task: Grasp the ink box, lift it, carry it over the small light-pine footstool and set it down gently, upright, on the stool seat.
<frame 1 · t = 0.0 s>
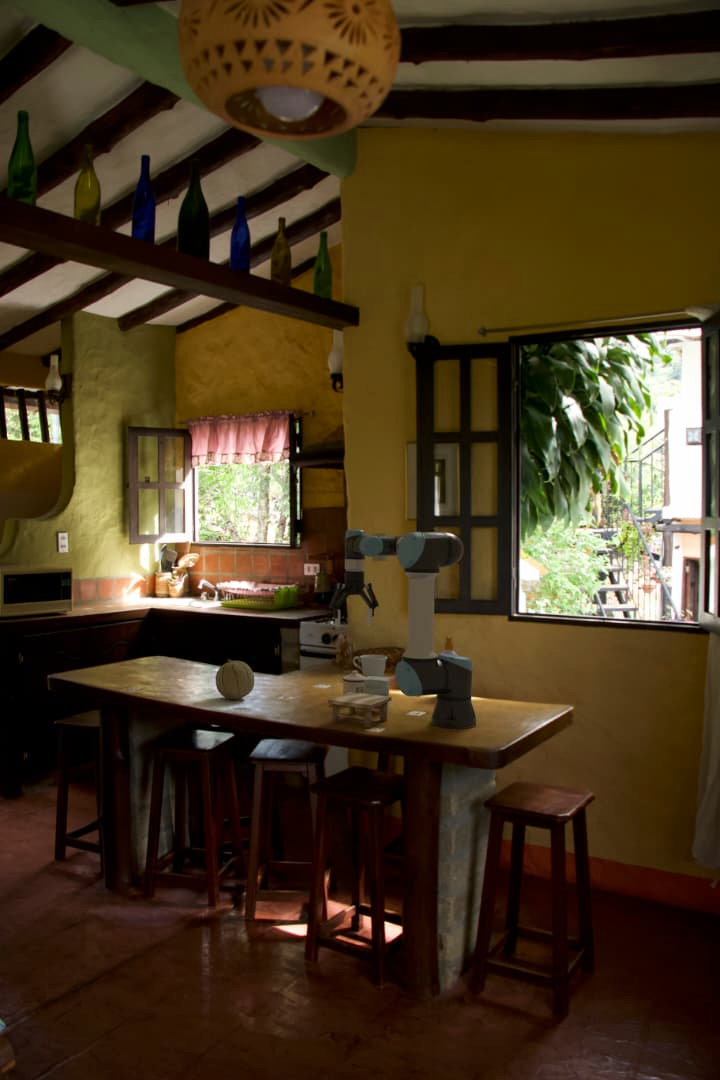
hand: (353, 626, 336), 28 cm above the table, fingers open, 13 cm apart
ink box: (376, 710, 319), on the table
soap bottle: (447, 697, 346), on the table
footstool: (359, 721, 300), on the table
teacup with lid: (356, 701, 334), on the table
teacup: (369, 680, 380), on the table
cantaloupe: (234, 699, 334), on the table
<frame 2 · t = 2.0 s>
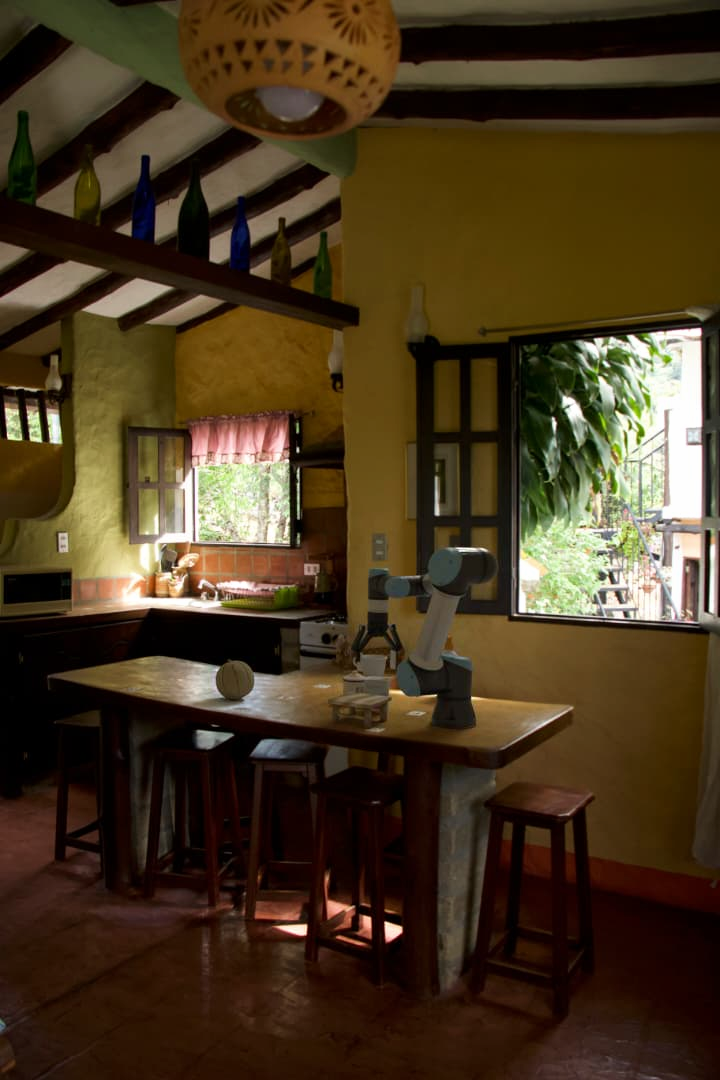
hand: (376, 669, 319), 15 cm above the table, fingers open, 13 cm apart
nothing on the table moved.
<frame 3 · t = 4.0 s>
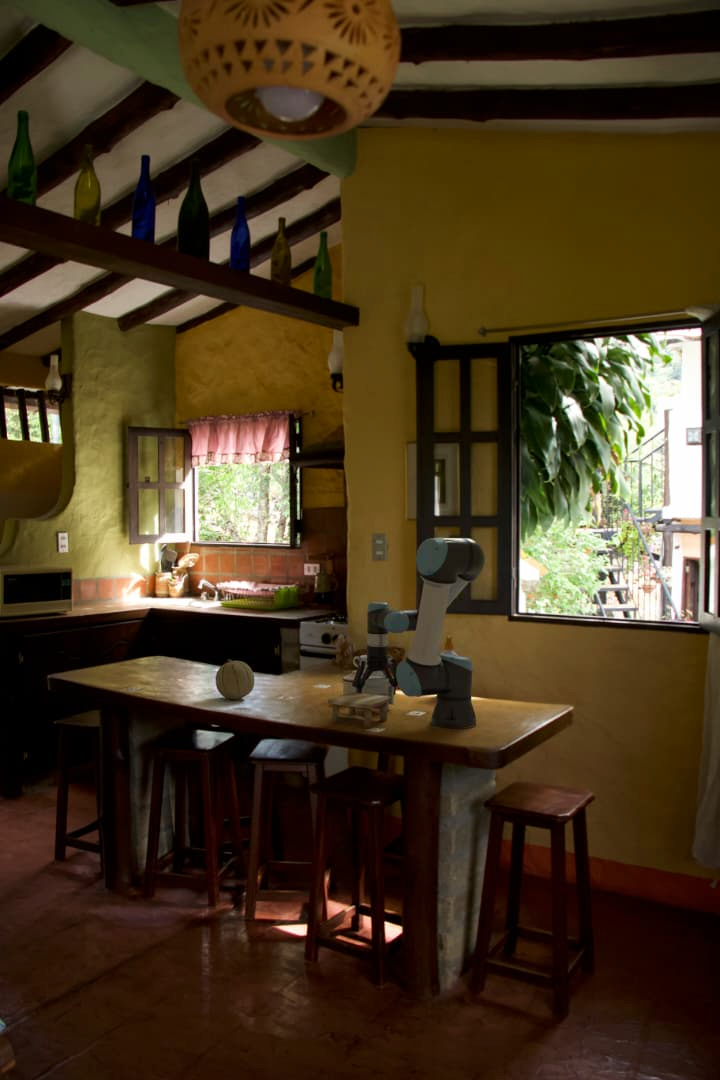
hand: (376, 705, 319), 2 cm above the table, fingers closed on ink box, 11 cm apart
ink box: (376, 710, 319), on the table, touching gripper
everything else where it was.
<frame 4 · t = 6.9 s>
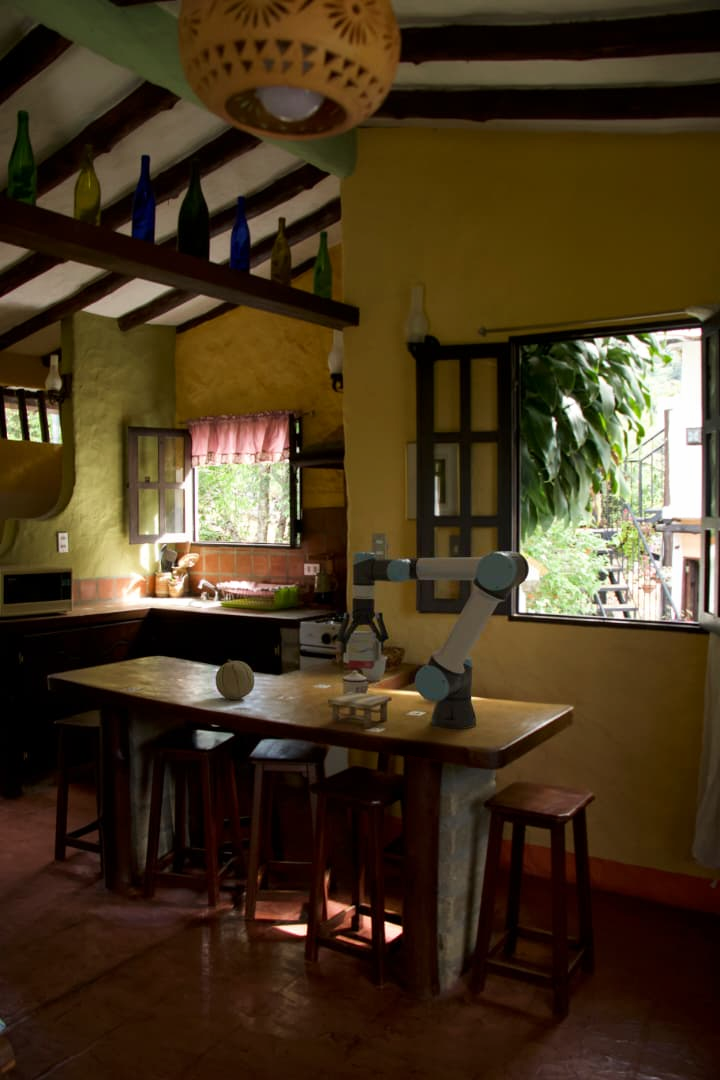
hand: (362, 661, 302), 20 cm above the table, fingers closed on ink box, 11 cm apart
ink box: (362, 667, 302), point 18 cm above the table, touching gripper
everything else where it was.
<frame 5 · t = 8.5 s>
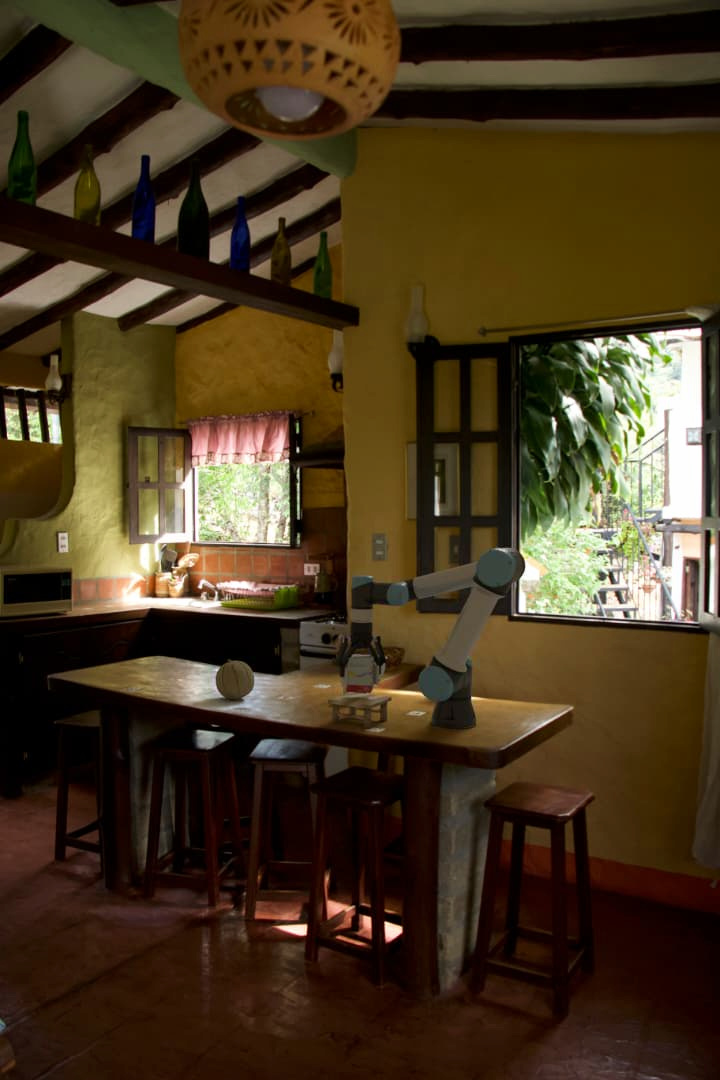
hand: (360, 685, 300), 12 cm above the table, fingers closed on ink box, 11 cm apart
ink box: (360, 691, 300), point 10 cm above the table, touching gripper
everything else where it was.
when the fingers open (11 cm above the table, at t = 9.8 s): ink box drops 1 cm, resting on footstool.
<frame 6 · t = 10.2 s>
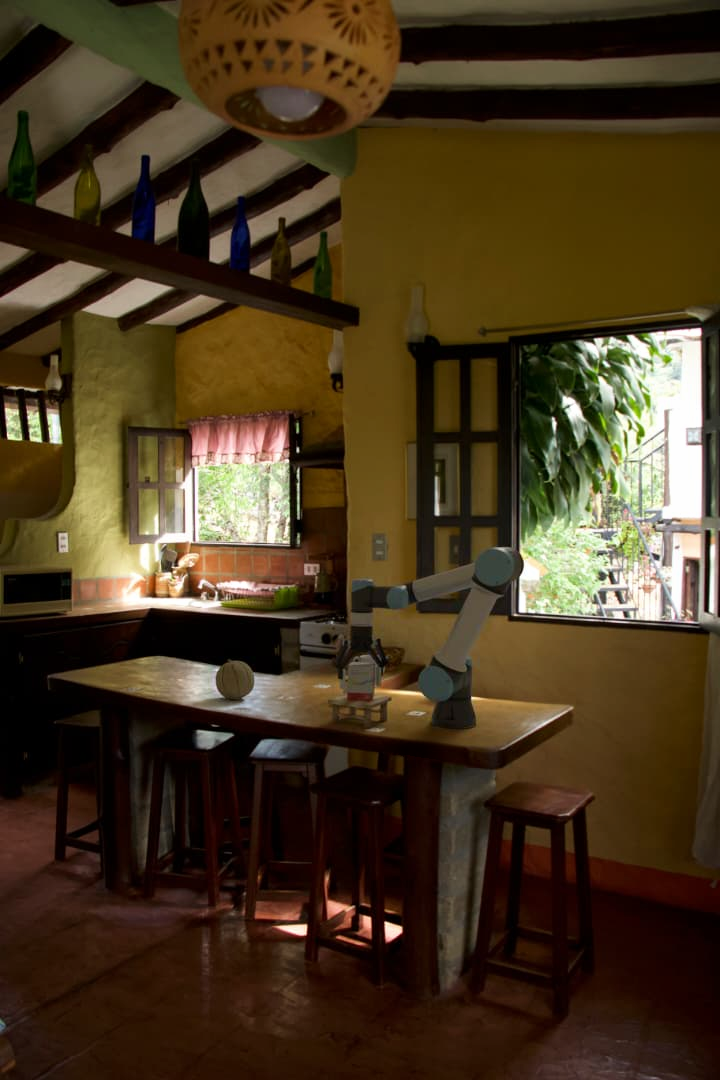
hand: (360, 687, 300), 12 cm above the table, fingers open, 13 cm apart
ink box: (361, 698, 300), point 8 cm above the table, touching footstool
everything else where it was.
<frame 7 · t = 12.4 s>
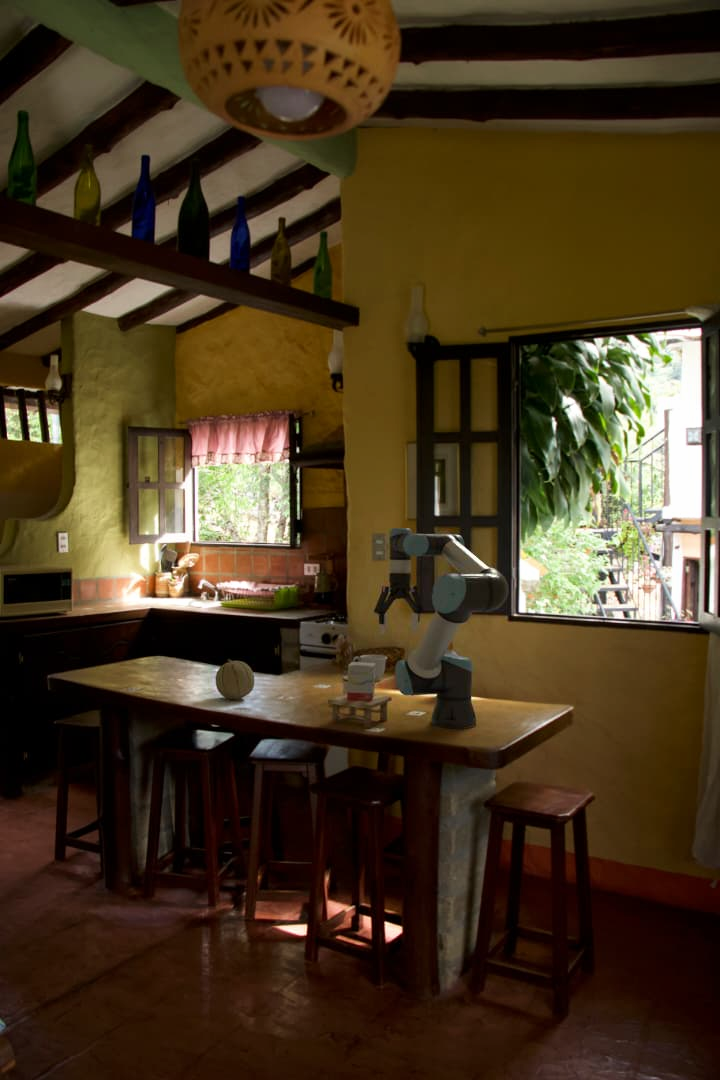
hand: (399, 632, 310), 29 cm above the table, fingers open, 13 cm apart
nothing on the table moved.
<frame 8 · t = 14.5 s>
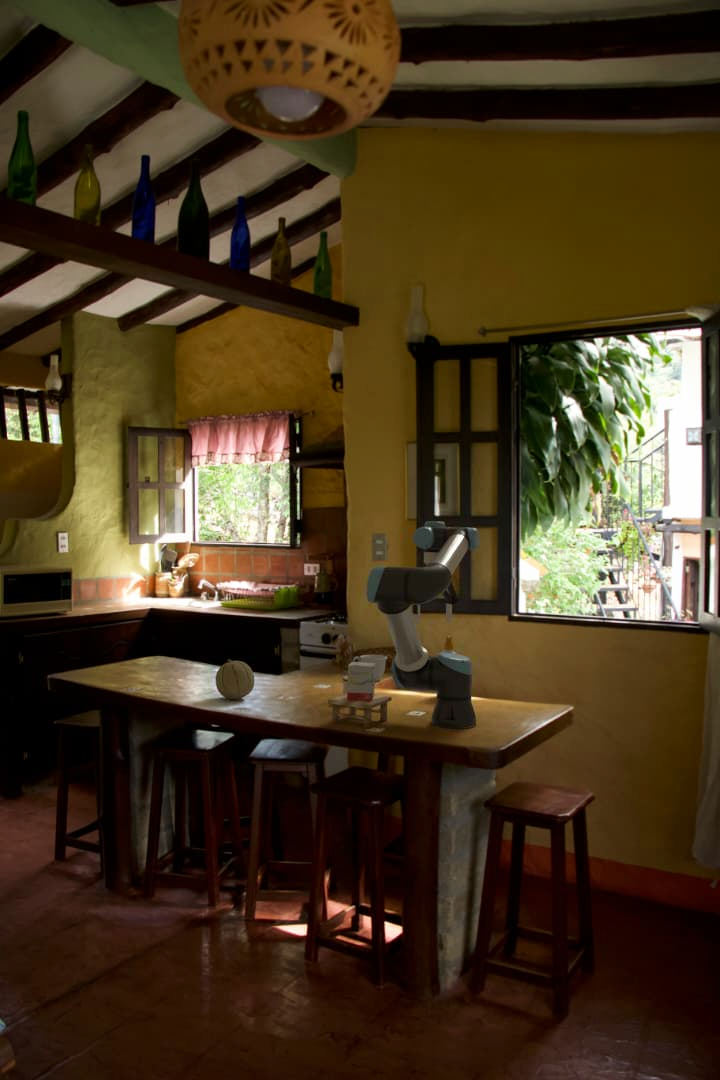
hand: (433, 622, 321), 32 cm above the table, fingers open, 13 cm apart
nothing on the table moved.
at the end: ink box inside the target area on the footstool (0.3 cm from its centre), point 7.8 cm above the footstool's base; ink box tilted 0°; the gripper is holding nothing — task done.
